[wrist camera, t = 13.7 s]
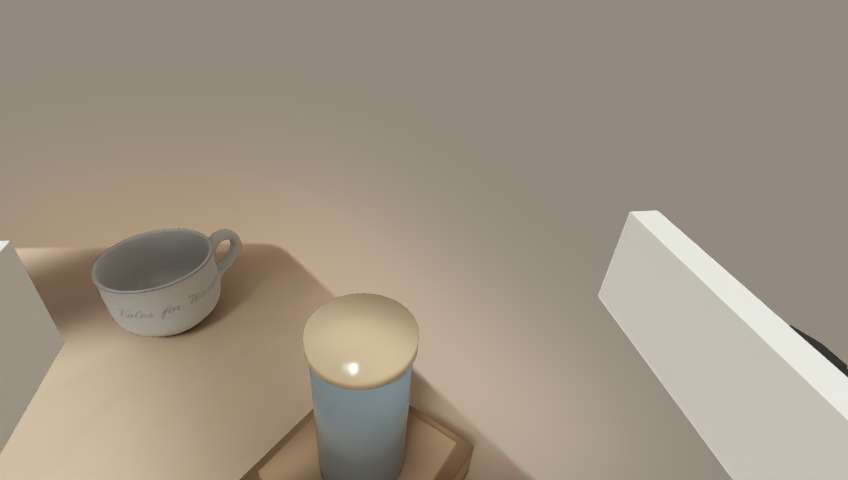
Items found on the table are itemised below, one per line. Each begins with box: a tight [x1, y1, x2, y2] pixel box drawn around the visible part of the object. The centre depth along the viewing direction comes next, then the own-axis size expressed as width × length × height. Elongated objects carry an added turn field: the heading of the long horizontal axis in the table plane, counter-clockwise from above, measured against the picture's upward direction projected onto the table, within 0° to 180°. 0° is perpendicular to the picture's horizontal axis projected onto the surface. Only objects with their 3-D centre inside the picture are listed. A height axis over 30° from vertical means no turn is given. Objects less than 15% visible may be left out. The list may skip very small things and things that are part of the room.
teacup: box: [91, 228, 242, 337], centre depth 48 cm, size 14×11×8 cm
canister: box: [303, 293, 419, 480], centre depth 30 cm, size 6×6×13 cm
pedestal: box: [240, 405, 474, 480], centre depth 35 cm, size 12×12×5 cm
